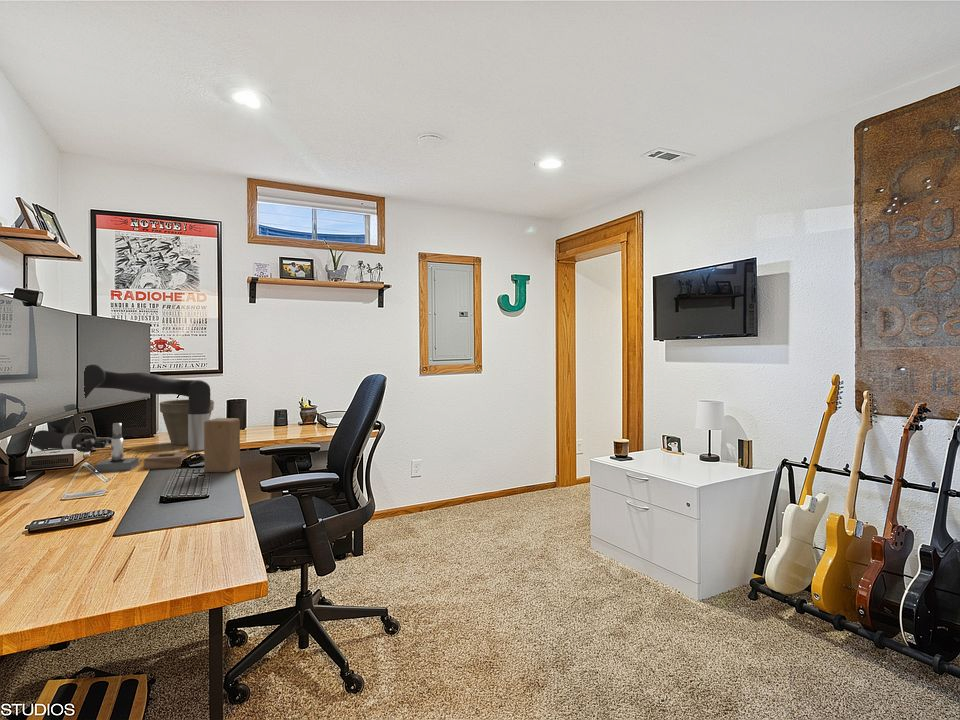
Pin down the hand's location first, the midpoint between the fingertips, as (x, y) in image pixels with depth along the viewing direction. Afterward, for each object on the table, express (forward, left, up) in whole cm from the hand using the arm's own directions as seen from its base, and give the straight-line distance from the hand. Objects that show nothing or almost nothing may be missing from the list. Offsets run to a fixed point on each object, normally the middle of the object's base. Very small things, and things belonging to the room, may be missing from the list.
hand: (113, 443), depth 217 cm
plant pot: (-61, +17, -10) cm, 64 cm away
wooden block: (+19, +42, -10) cm, 47 cm away
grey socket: (+1, +2, -10) cm, 10 cm away
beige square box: (0, +19, -10) cm, 21 cm away
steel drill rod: (+1, +2, -10) cm, 10 cm away
